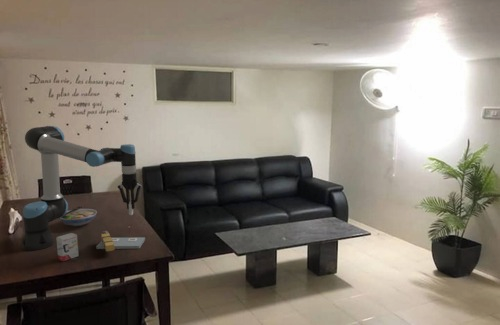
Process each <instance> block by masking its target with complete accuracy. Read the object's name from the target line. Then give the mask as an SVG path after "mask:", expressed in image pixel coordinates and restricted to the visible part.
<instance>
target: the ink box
mask: <svg viewBox="0 0 500 325" xmlns="http://www.w3.org/2000/svg"><path fill="white" fill-rule="evenodd" d="M55 240H56V248H57V251H56V252H57V260H58V261H61V262H65V261H69V260H72V259H74V258H77V257H79V244H78V234H76V233H73V232H70V233H65V234H63V235H60V236H59V235H58V236H57V237H56V238H55Z"/></svg>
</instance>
